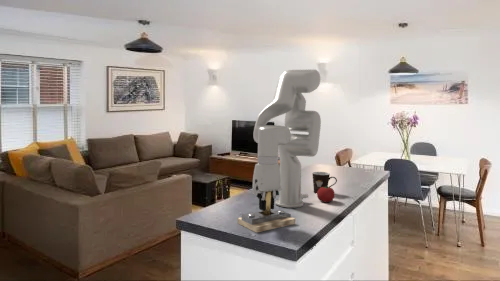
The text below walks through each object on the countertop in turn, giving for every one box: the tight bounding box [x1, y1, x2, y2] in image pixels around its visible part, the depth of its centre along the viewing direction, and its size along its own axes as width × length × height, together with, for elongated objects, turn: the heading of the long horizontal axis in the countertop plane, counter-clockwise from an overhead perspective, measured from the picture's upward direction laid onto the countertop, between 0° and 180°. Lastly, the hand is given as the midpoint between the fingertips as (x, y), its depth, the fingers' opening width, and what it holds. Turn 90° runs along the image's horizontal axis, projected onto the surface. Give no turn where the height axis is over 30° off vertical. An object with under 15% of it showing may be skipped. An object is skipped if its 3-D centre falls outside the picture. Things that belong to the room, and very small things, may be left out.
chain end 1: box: [241, 209, 280, 225], centre depth 138 cm, size 13×7×3 cm, turn 125°
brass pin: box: [261, 191, 272, 216], centre depth 139 cm, size 3×3×10 cm
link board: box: [237, 216, 296, 233], centre depth 140 cm, size 18×12×2 cm, turn 125°
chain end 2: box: [264, 209, 292, 222], centre depth 141 cm, size 13×7×2 cm, turn 125°
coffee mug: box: [312, 171, 338, 194], centre depth 188 cm, size 12×9×10 cm
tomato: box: [316, 186, 336, 203], centre depth 173 cm, size 8×8×7 cm
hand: (266, 208), depth 139 cm, fingers closed on brass pin, 3 cm apart
